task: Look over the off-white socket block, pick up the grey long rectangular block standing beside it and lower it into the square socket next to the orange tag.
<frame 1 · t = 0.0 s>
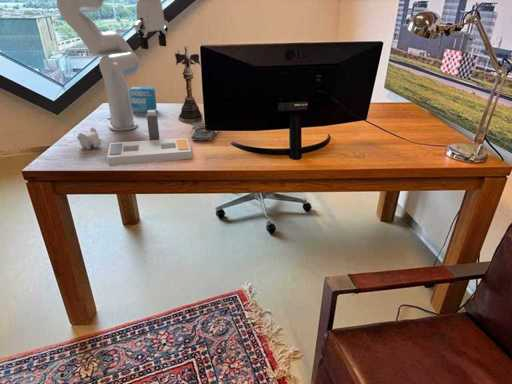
hand: (154, 47, 137), 37 cm above the table, tool pointing down, fingers open, 9 cm apart
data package: (144, 111, 187), on the table
socket block: (150, 154, 140), on the table
grey long rectangular block: (154, 142, 151), on the table
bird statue: (189, 117, 180), on the table
graphics card: (202, 136, 160), on the table
elephant figurine: (91, 147, 144), on the table
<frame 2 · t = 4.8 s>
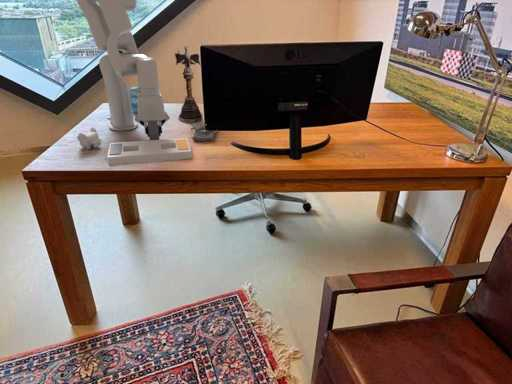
hand: (154, 134, 149), 3 cm above the table, tool pointing down, fingers closed on grey long rectangular block, 4 cm apart
grey long rectangular block: (154, 142, 151), on the table, touching gripper
everything else where it was.
when the fingers open (5 cm above the table, at t = 10.8 s): grey long rectangular block drops 1 cm, resting in socket block.
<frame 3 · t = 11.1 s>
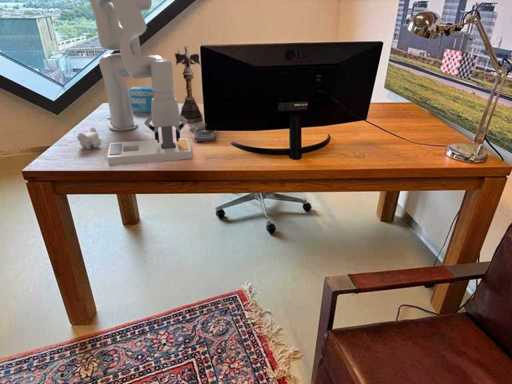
hand: (167, 140, 139), 5 cm above the table, tool pointing down, fingers open, 6 cm apart
grey long rectangular block: (168, 152, 142), resting in socket block
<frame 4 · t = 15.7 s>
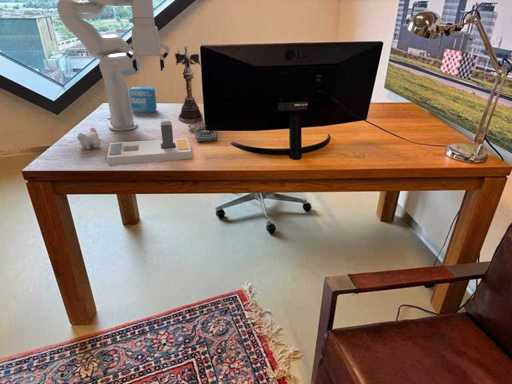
hand: (149, 70, 141), 28 cm above the table, tool pointing down, fingers open, 9 cm apart
at the end: grey long rectangular block 0.1 cm from the target spot on the socket block, point 0.0 cm above the socket block's base; grey long rectangular block tilted 0°; the gripper is holding nothing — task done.
